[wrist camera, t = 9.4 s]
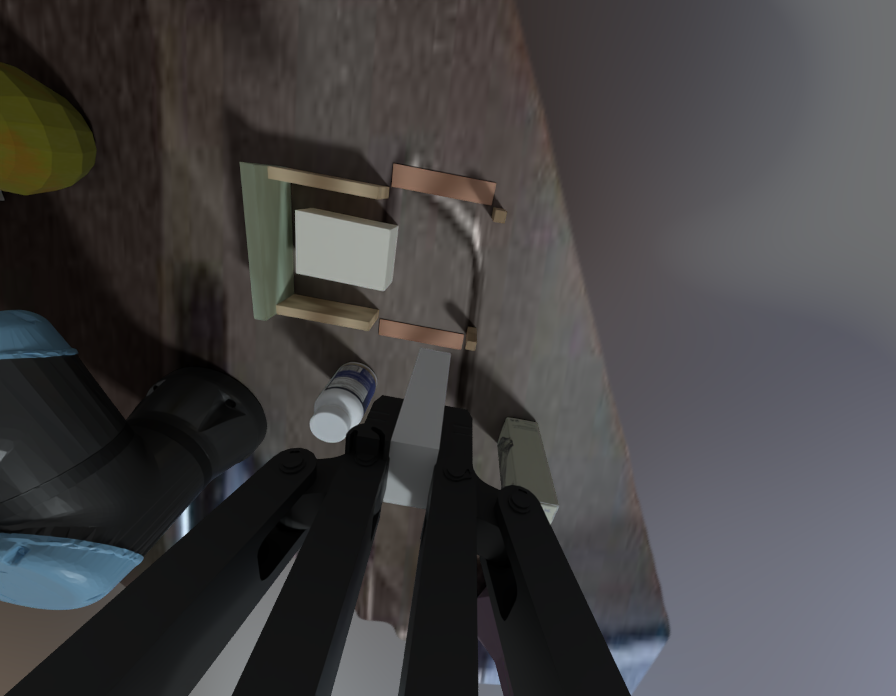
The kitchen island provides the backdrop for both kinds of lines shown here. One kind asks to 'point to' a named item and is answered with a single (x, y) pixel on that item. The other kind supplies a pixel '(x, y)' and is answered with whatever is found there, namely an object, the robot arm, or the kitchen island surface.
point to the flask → (492, 639)
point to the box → (526, 462)
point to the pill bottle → (343, 402)
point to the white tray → (1, 196)
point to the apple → (40, 137)
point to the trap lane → (274, 244)
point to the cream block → (345, 248)
